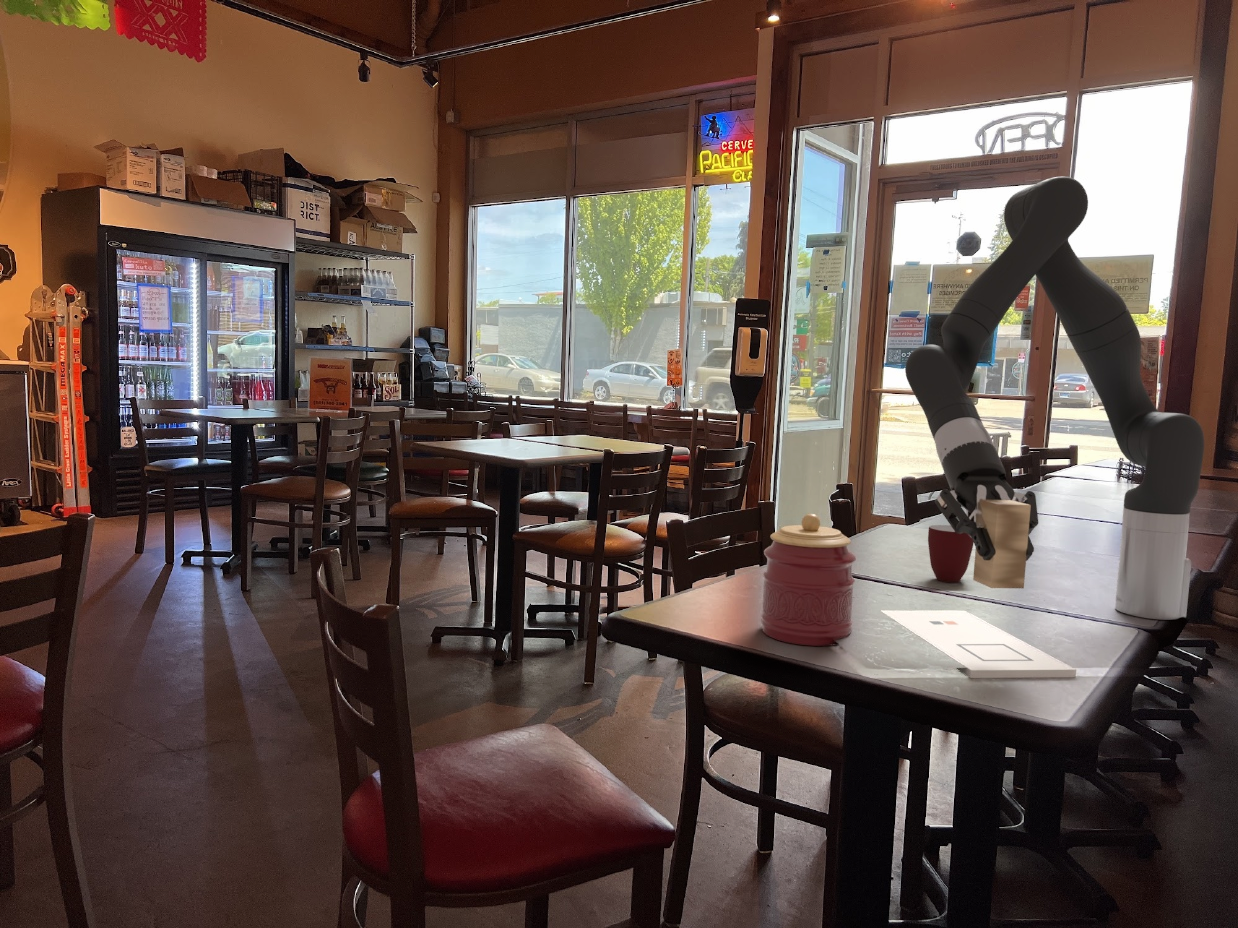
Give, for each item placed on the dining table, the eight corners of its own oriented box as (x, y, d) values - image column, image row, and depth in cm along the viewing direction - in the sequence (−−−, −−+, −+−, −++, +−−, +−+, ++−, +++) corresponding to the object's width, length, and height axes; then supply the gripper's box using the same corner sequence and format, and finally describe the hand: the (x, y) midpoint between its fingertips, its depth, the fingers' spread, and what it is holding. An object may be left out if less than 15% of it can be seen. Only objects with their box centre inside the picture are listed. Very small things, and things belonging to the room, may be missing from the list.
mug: (936, 571, 168) (939, 522, 167) (979, 578, 164) (982, 527, 163) (919, 580, 160) (923, 528, 159) (964, 587, 155) (967, 533, 154)
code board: (963, 616, 135) (964, 610, 135) (1075, 677, 107) (1076, 669, 107) (879, 616, 133) (879, 610, 133) (970, 678, 106) (971, 670, 106)
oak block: (1004, 580, 115) (1011, 500, 114) (1023, 588, 110) (1030, 505, 109) (973, 579, 114) (979, 499, 113) (991, 587, 110) (997, 504, 109)
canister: (775, 616, 132) (780, 504, 130) (860, 630, 126) (866, 512, 124) (748, 637, 120) (753, 515, 118) (839, 653, 114) (846, 524, 113)
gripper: (930, 438, 117) (968, 540, 106) (1027, 441, 119) (1075, 542, 108) (910, 472, 123) (945, 572, 112) (1003, 474, 124) (1046, 573, 114)
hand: (1008, 556), depth 110 cm, fingers closed on oak block, 4 cm apart
